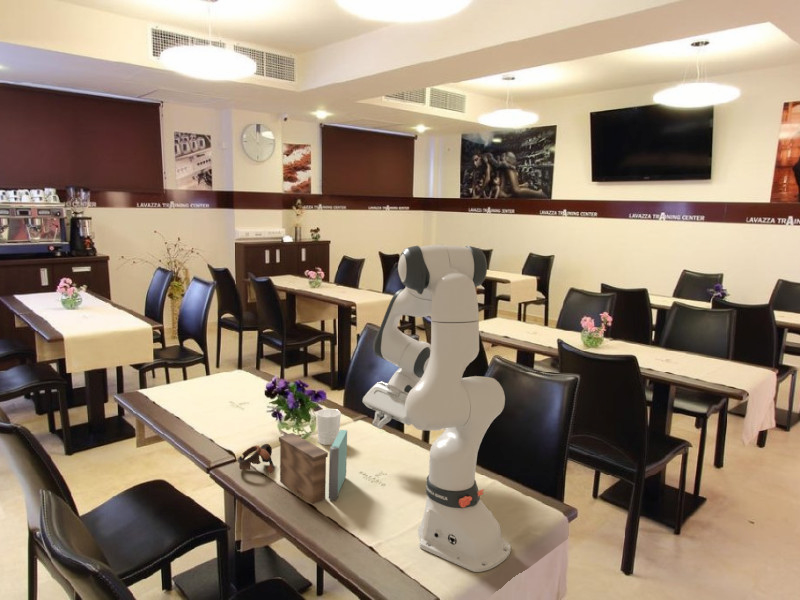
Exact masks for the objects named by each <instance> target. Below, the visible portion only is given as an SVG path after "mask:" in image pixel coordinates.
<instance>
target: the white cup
mask: <svg viewBox="0 0 800 600" xmlns="http://www.w3.org/2000/svg"><path fill="white" fill-rule="evenodd" d="M341 415H342V413H341V411H340V410H338V409H336V408H323V409H319V410H318V411H317V412H316V428H317V430H316V431H317V441H318V443H319V444H320V445H322V446H323V445H324V446H332V444H333V443H334V441H335V439H336V437H337V435H338V433H339V431H340V428H341Z"/></svg>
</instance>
